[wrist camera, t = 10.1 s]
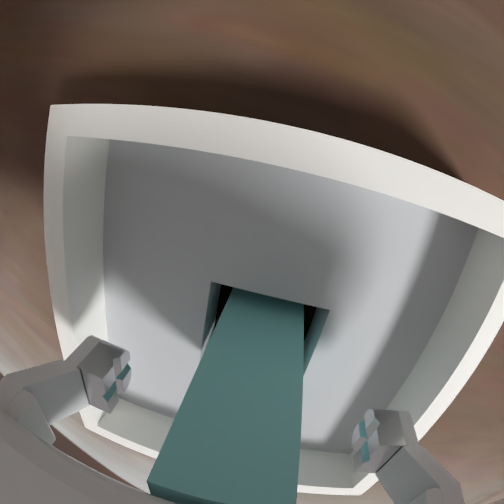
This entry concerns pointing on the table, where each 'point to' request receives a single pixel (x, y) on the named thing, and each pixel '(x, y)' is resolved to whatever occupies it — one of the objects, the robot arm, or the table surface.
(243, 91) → the table surface
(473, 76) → the table surface
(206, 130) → the box
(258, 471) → the peg
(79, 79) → the table surface
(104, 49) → the table surface
